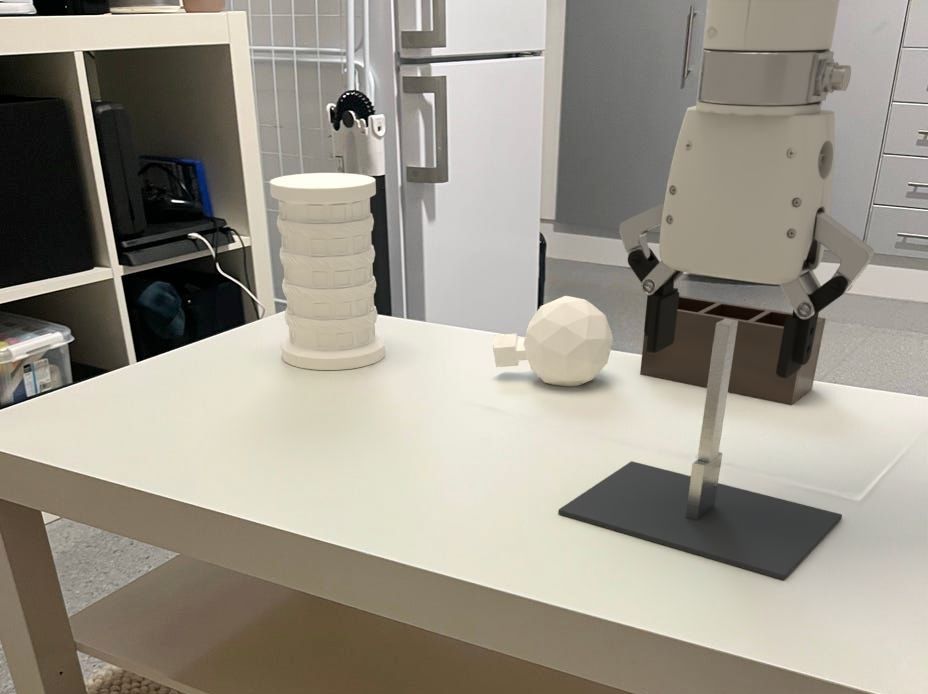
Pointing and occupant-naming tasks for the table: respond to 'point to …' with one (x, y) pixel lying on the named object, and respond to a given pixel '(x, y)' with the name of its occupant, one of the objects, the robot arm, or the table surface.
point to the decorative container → (328, 270)
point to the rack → (750, 355)
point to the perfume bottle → (560, 343)
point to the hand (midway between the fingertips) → (722, 360)
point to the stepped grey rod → (712, 423)
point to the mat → (705, 519)
